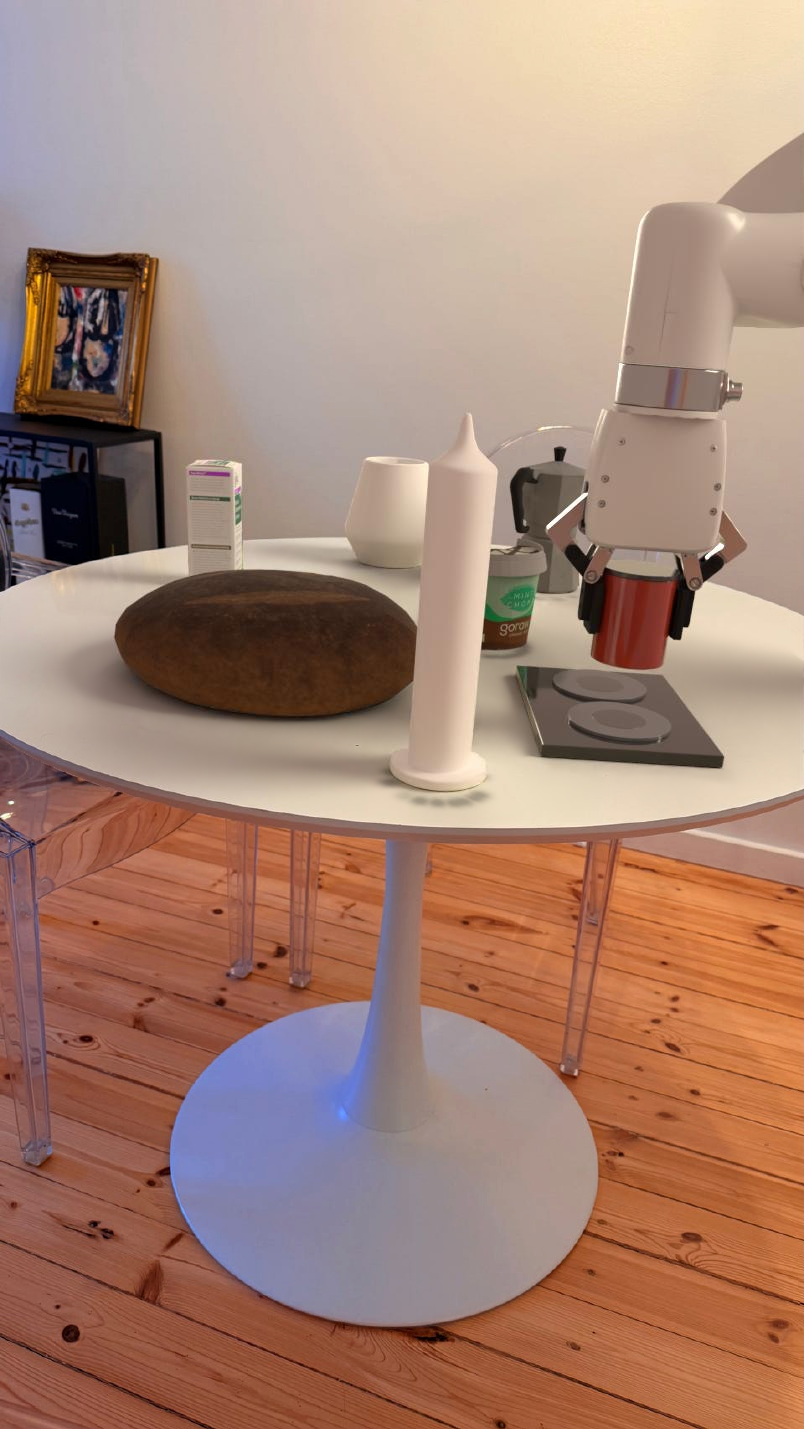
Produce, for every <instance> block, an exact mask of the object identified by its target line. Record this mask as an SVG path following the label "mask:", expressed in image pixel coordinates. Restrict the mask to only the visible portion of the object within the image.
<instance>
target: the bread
mask: <svg viewBox="0 0 804 1429" xmlns="http://www.w3.org/2000/svg"><path fill="white" fill-rule="evenodd" d="M113 638H114V641H115V644H116V648H117V649H118V652H119V655H120V657H121V659H122V661H123V662H124V664H125V665H126V666H127V667H128V668H129V669H130V670H132V672H134V674H136V675H137V677H139V678H140V680H142V681H143V682H144V683H146V684H148V685H149V686H151V687H153V688H155V689H157V690H159V691H161V692H162V693H163V692H164V693H165V694H167V695H170V696H173V697H174V698H178V699H179V700H183V701H185V702H188V703H191V704H193V705H196V706H200V707H204V708H208V709H213V710H219V711H227V712H232V713H241V714H247V715H256V716H257V715H258V716H266V717H315V716H316V717H320V716H330V715H331V716H332V715H337V714H343V713H349V712H353V711H357V710H361V709H365V708H368V707H372V706H375V705H378V704H381V703H383V702H385V701H389V700H391V699H393V698H394V697H396V695H398V694H399V693H400V692H402V691H403V690H405V689H406V688H407V687H408V686H409V685H410V684H411V683H413V681H414V667H415V653H416V639H417V625H416V622H415V620H413V618H412V617H411V616H410V615H409V613H408V611H406V610H405V609H404V608H403V607H402V606H400V605H399V604H398V603H397V602H395V601H394V600H393V599H392V598H390V597H389V596H388V595H386V594H384V593H382V592H380V591H378V590H376V589H374V588H372V587H371V586H369V585H367V584H365V583H362V582H359V581H356V580H353V579H349V578H345V577H341V576H336V575H332V574H331V575H330V574H321V573H317V572H308V571H299V570H297V571H296V570H284V569H261V568H260V569H259V568H258V569H257V568H255V569H253V568H252V569H250V568H247V569H244V568H243V569H242V570H225V571H215V572H207V573H202V574H197V575H193V576H189V575H188V576H185V577H182V578H178V579H176V580H173V581H170V582H168V583H165V584H164V585H161V586H159V587H157V588H155V589H153V590H151V591H149V592H147V593H146V594H144V595H143V596H141V597H139V598H138V599H137V600H136V601H134V602H133V603H131V604H129V605H128V606H127V607H126V608H125V609H124V611H123V612H122V613H121V614H120V616H119V618H118V619H117V621H116V623H115V628H114V636H113Z"/></svg>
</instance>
